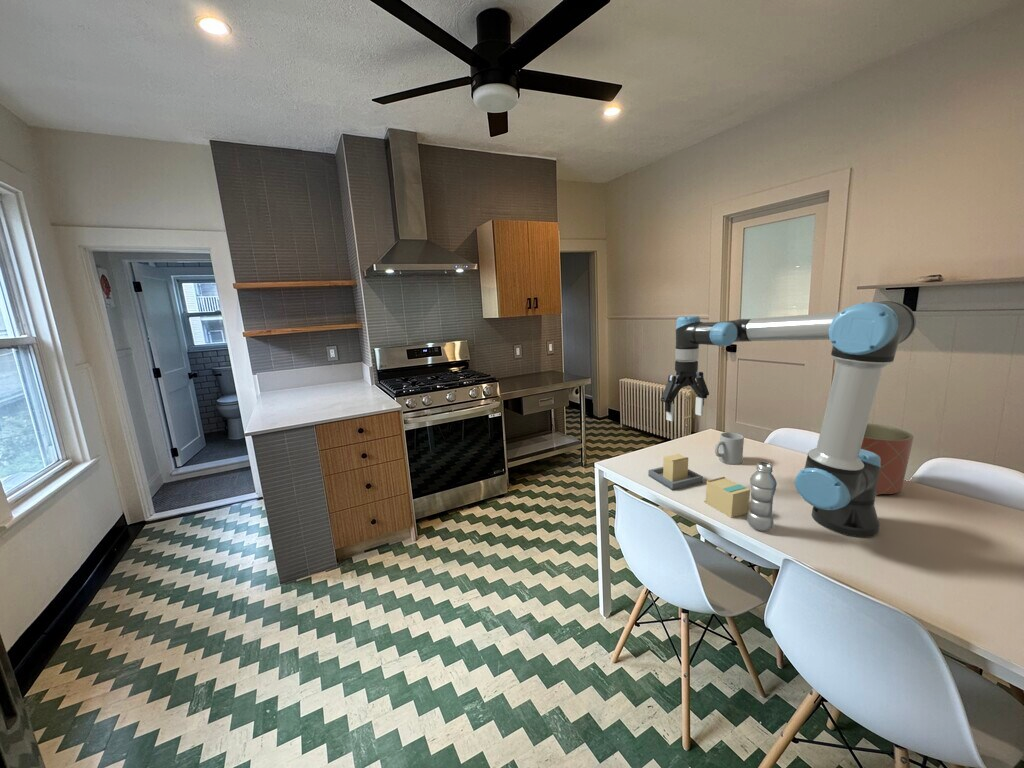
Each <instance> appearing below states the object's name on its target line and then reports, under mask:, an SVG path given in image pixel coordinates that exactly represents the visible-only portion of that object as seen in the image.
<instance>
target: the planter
mask: <svg viewBox="0 0 1024 768" xmlns="http://www.w3.org/2000/svg"><path fill="white" fill-rule="evenodd" d="M913 442H914V435H913V434H912V433H910V432H908V431H906V430H903V429H900V428H897V427H892V426H889V425H883V424H877V423H870V422H868V423H867V427H866V431H865V434H864V438H863V442H862V445H861V449H863V450H867V451H870V452H873V453H875V454H877V455H878V456H879V457H880V459H881V468H880V471H879V478H878V484H877V490H876V496H878V495H894V494H897V493H900V492H902V489H903V485H904V481H905V477H906V472H907V469H908V465H909V464H908V463H909V459H910V455H911V450H912V447H913Z"/></svg>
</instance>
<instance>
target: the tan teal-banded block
mask: <svg viewBox="0 0 1024 768" xmlns="http://www.w3.org/2000/svg"><path fill="white" fill-rule="evenodd" d="M750 497H751V488H750V489H749V488H747V487H746V486H744V485H742V484H740V483H737V482H735V481H732V480H730V479H728V478H726V477H725V476H721V477H718V478H712V479H709V480H706V491H705V500H704V501H703V502H704V503H705V504H707V505H708V506H710V507H712V508H713V509H716V511H719V512H720V513H722V514H724V515H725V514H726V516H727V517H729V518H730V519H732V517H733V518H736V517H740V516H742V515H747V514H748V511H749V508H750ZM739 515H740V516H739ZM735 516H736V517H735Z"/></svg>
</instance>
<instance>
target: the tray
mask: <svg viewBox="0 0 1024 768" xmlns="http://www.w3.org/2000/svg"><path fill="white" fill-rule="evenodd" d="M647 477H649V478H651V479H653V480H654V481H656V482H658V483H659V484H661V485H662V486H664V487H666V488H667V489H670V490H671V491H675V490H681V489H683V488H687V487H692V486H695V485H696V486H697V485H699V484H700V485H701V484H703V483H704V476H703V475H701V474H699V473H697V472H695V471H694V470H691V469H689V468H688V477H687V479H682V480H678V481H674V482H672V481H670V480H668V479H666V478H665V477H663V466H660V467H656V468H652V469H651V468H650V469H648V476H647Z"/></svg>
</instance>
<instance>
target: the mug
mask: <svg viewBox="0 0 1024 768" xmlns="http://www.w3.org/2000/svg"><path fill="white" fill-rule="evenodd" d="M744 443H745V437H744V435H742V434H740V433H736V432H721V434H720V437H719V441H717V442H716V444H715V448H714V453H715V456H716V457H718V460H719V461H720V462H721V463H723V464H727V465H732V466H737V465H740V464H742V463H743V457H744V456H743V455H744V454H743V453H744Z"/></svg>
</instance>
